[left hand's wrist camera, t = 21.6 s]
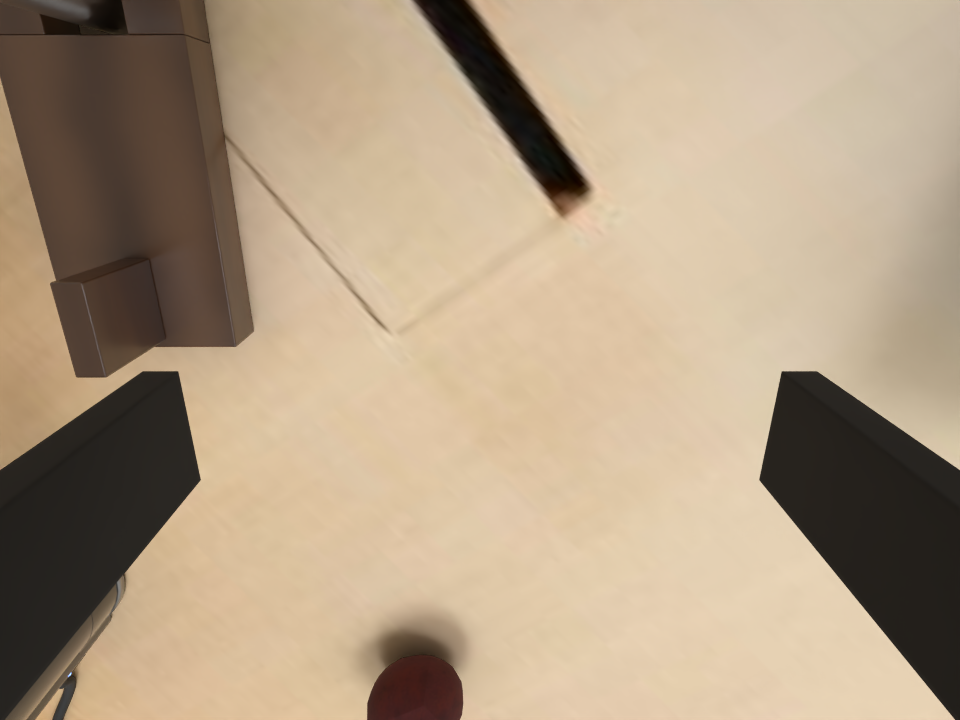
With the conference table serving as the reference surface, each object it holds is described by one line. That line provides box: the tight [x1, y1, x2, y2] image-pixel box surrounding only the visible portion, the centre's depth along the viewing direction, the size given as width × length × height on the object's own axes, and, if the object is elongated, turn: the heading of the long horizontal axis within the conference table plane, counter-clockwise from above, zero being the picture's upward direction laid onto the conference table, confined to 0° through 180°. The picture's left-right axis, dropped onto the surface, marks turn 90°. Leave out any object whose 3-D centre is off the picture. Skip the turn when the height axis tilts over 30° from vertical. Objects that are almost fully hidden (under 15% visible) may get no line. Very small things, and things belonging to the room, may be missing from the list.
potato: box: [367, 655, 463, 720], centre depth 45 cm, size 7×8×7 cm
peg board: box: [0, 0, 254, 377], centre depth 29 cm, size 10×24×9 cm, turn 0°
